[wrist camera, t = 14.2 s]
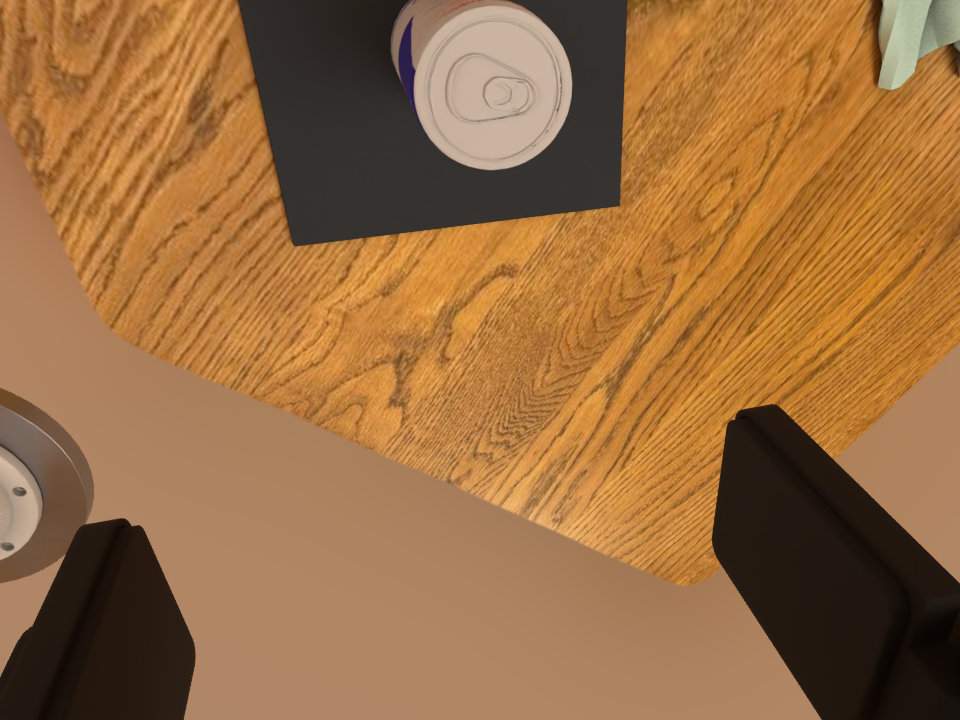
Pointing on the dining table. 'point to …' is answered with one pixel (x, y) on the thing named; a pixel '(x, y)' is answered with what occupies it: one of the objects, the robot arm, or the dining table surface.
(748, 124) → the dining table surface
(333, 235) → the mat
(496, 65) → the beverage can
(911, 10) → the cloth
